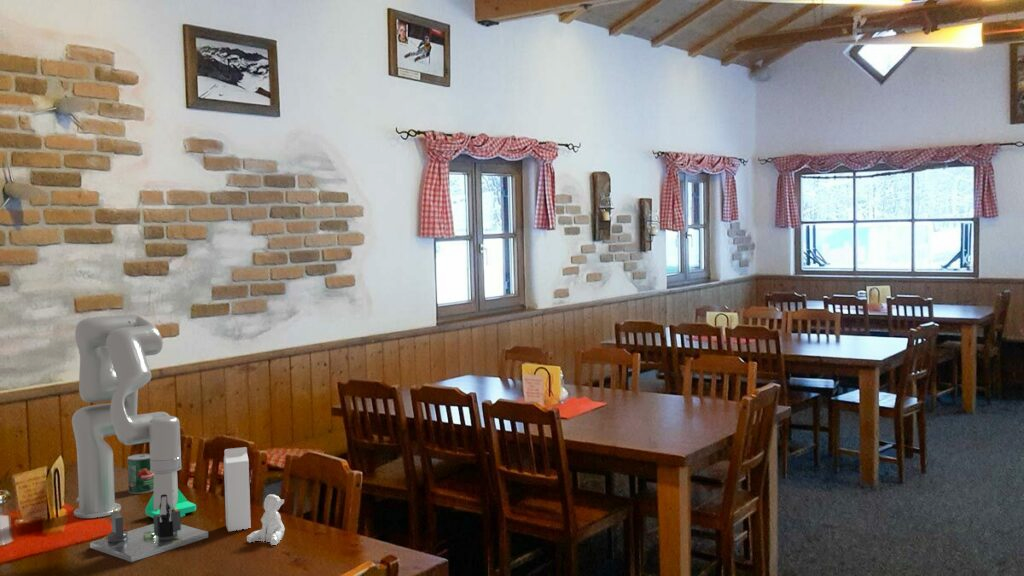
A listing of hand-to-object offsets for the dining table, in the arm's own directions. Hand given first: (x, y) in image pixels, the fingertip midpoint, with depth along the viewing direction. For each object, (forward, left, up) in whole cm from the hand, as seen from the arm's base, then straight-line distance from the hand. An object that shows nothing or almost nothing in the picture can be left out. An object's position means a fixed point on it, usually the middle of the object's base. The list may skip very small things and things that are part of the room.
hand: (168, 532), depth 233 cm
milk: (+4, +19, -3) cm, 20 cm away
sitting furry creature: (+20, +17, -3) cm, 26 cm away
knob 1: (-10, -8, -1) cm, 13 cm away
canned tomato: (-54, +26, -3) cm, 60 cm away
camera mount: (-22, +15, -3) cm, 27 cm away
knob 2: (0, 0, -1) cm, 1 cm away
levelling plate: (-5, -2, -3) cm, 6 cm away
